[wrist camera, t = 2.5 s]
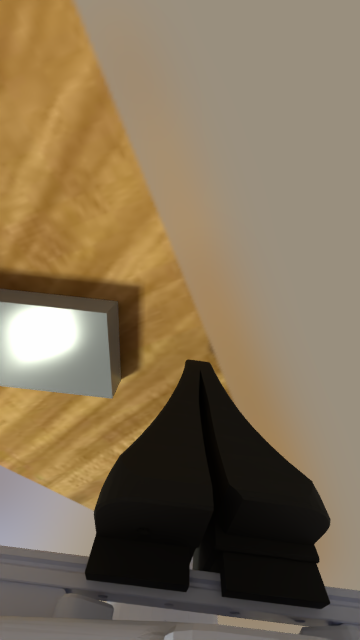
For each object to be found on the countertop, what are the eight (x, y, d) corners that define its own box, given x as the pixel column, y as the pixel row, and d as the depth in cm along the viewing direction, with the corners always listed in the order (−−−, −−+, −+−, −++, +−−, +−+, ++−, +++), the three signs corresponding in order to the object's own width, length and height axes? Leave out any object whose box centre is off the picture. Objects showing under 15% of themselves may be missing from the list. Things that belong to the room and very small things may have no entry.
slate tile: (122, 375, 15) (112, 398, 13) (-11, 360, 15) (-42, 381, 13) (120, 298, 12) (106, 313, 10) (-42, 281, 12) (-86, 292, 10)
